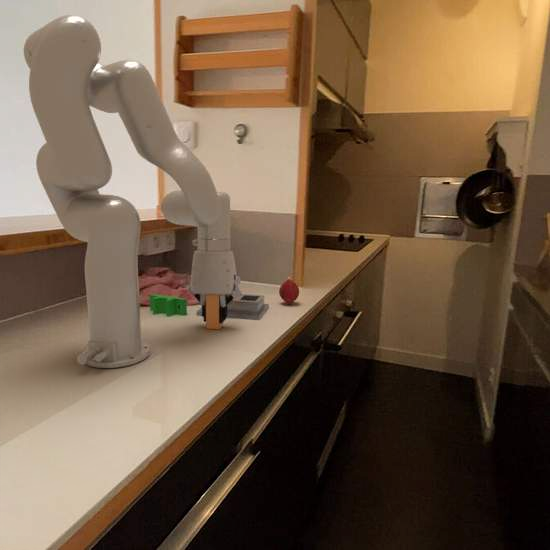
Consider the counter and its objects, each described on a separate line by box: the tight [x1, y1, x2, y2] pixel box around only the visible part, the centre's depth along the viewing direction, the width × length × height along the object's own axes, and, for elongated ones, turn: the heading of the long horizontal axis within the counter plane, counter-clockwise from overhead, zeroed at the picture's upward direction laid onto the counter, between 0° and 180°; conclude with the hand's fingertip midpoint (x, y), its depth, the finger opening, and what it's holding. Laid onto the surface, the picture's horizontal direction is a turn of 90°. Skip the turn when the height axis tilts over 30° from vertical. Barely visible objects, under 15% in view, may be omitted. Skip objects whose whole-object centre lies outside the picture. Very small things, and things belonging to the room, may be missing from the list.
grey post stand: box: [195, 275, 270, 321], centre depth 121 cm, size 22×17×15 cm
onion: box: [278, 276, 300, 305], centre depth 125 cm, size 6×6×8 cm
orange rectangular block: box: [205, 294, 224, 330], centre depth 103 cm, size 3×3×10 cm
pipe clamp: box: [149, 293, 188, 317], centre depth 114 cm, size 11×4×5 cm, turn 67°
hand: (214, 320), depth 104 cm, fingers closed on orange rectangular block, 3 cm apart
